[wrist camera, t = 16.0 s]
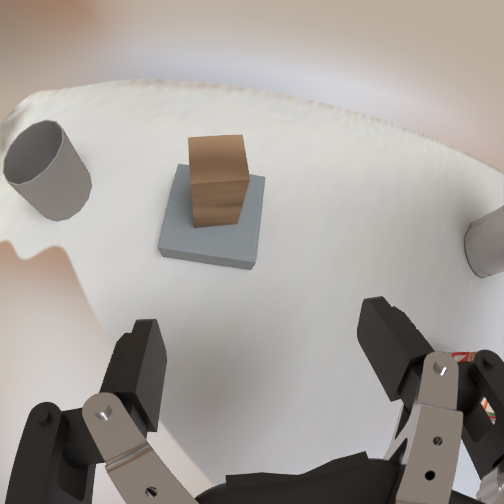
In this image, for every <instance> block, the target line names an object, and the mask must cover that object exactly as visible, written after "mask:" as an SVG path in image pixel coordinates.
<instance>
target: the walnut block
mask: <svg viewBox="0 0 504 504" xmlns="http://www.w3.org/2000/svg"><path fill="white" fill-rule="evenodd" d="M188 144H189V166H190V183H191V197H192V209H193V221H194V228H199V227H210V226H221V225H233V224H238V221H239V217H240V214H241V210H242V207H243V203H244V200H245V196H246V193H247V189H248V186H249V182H250V176H249V170H248V164H247V158H246V152H245V147H244V141H243V135H222V136H204V137H190V138H188Z"/></svg>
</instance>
